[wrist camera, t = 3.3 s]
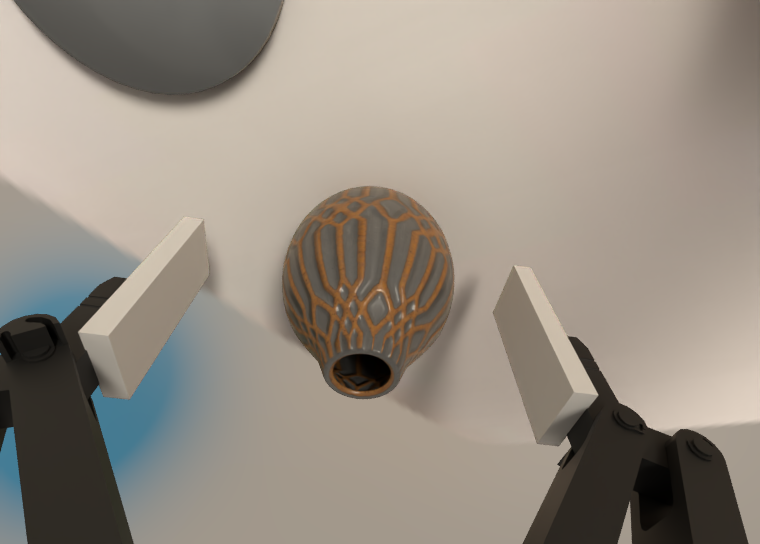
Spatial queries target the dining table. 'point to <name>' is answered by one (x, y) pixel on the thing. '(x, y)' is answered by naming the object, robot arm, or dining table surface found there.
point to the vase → (367, 287)
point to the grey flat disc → (159, 38)
